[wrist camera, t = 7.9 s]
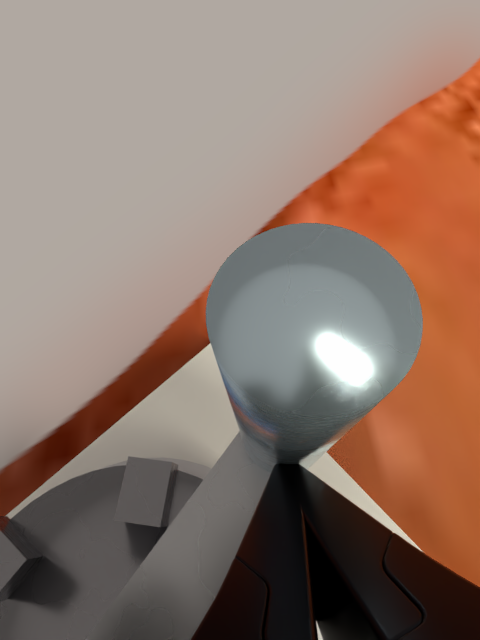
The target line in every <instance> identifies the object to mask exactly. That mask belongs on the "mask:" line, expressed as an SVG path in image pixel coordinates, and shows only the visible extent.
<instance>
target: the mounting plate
mask: <svg viewBox="0 0 480 640" xmlns="http://www.w3.org/2000/svg"><path fill="white" fill-rule="evenodd" d="M238 432H239V428H238V425H237V422H236V419H235V416H234V413H233V410H232V407H231V404H230V401H229V397H228V394H227V391H226V388H225V385H224V382H223V379H222V376H221V373H220V370H219V367H218V364H217V361H216V358H215V355H214V352H213V349H212V346H211V343H210V344H209V345H208V346H206V347H205V348H204V349H203V350H202V351H201V352H199V353H198V354H197V355H196V356H195V357H193V358H192V359H191V360H190V361H189V362H187V363H186V364H185V365H184V366H183V367H182V368H180V369H179V370H178V371H177V372H176V373H174V374H173V375H172V376H171V377H170V378H168V379H167V380H166V381H165V382H164V383H163V384H161V385H160V386H159V387H158V388H157V389H155V390H154V391H153V392H152V393H151V394H149V395H148V396H147V397H146V398H145V399H144V400H142V401H141V402H140V403H139V404H138V405H136V406H135V407H134V408H133V409H132V410H130V411H129V412H128V413H127V414H126V415H125V416H123V417H122V418H121V419H120V420H119V421H117V422H116V423H115V424H114V425H113V426H112V427H110V428H109V429H108V430H107V431H106V432H104V433H103V434H102V435H101V436H100V437H98V438H97V439H96V440H95V441H94V442H93V443H91V444H90V445H89V446H88V447H87V448H85V449H84V450H83V451H82V452H81V453H79V454H78V455H77V456H76V457H75V458H74V459H72V460H71V461H70V462H69V463H68V464H66V465H65V466H64V467H63V468H62V469H60V470H59V471H58V472H57V473H56V474H55V475H53V476H52V477H51V478H50V479H49V480H47V481H46V482H45V483H44V484H43V485H41V486H40V487H39V488H38V489H37V490H36V491H34V492H33V493H32V494H31V495H30V496H28V497H27V498H26V499H25V500H24V501H22V502H21V503H20V504H19V505H18V506H17V507H15V508H14V509H13V510H12V511H11V512H9V513H8V514H7V515H6V516H8V518H9V519H11V518H12V517H14V516H15V515H16V514H17V513H18V512H20V511H21V510H22V509H23V508H24V507H26V506H27V505H28V504H29V503H30V502H32V501H33V500H35V499H36V498H38V497H39V496H41V495H42V494H44V493H46V492H47V491H49V490H50V489H52V488H54V487H56V486H58V485H60V484H62V483H64V482H66V481H68V480H70V479H72V478H74V477H77V476H80V475H83V474H85V473H88V472H91V471H94V470H99V469H104V468H108V467H113V466H122V465H126V464H127V460H128V456H130V457H138V458H145V459H153V460H161V461H168V462H173V463H175V464H177V465H178V470H180V471H182V472H185V473H188V474H191V475H193V476H196V477H199V478H201V479H203V480H204V478H205V477H206V476H207V474H208V473H209V472H210V470H211V469H212V468H213V466H214V465H215V464H216V462H217V461H218V459H219V458H220V457H221V455H222V454H223V453H224V451H225V450H226V449H227V447H228V446H229V445H230V443H231V442H232V440H233V439H234V438H235V436H236V435H237V434H238ZM307 470H308V471H310V472H311V473H313V474H314V475H315V476H317V477H318V478H319V479H321V480H322V481H324V482H325V483H326V484H328V485H329V486H331V487H332V488H333V489H335V490H336V491H337V492H339V493H340V494H342V495H343V496H344V497H346V498H347V499H348V500H350V501H351V502H353V503H354V504H355V505H357V506H358V507H359V508H361V509H362V510H364V511H365V512H366V513H368V514H369V515H370V516H372V517H373V518H375V519H376V520H377V521H379V522H380V523H381V524H383V525H384V526H386V527H387V528H388V529H390V530H391V531H392V532H393V533H396V534H398V535H399V536H400V537H402V538H403V539H405V540H406V541H407V542H409V543H410V544H412V545H413V546H414V547H416V548H417V549H419V550H420V551H422V550H421V549H420V548H419V547H418V546H417V545H416V544H415V543H414V542H413V541H412V540H411V539H410V538H409V537H408V536H407V535H406V534H405V533H404V532H403V531H402V530H401V529H400V528H399V527H398V526H397V525H396V524H395V523H394V521H393V520H392V519H391V518H390V517H389V516H388V515H387V514H386V513H385V512H384V511H383V510H382V509H381V508H380V507H379V506H378V505H377V504H376V503H375V502H374V501H373V500H372V499H371V498H370V497H369V496H368V495H367V494H366V493H365V491H364V490H363V489H362V488H361V487H360V486H359V485H358V484H357V483H356V482H355V481H354V480H353V479H352V478H351V477H350V476H349V475H348V474H347V473H346V472H345V471H344V470H343V469H342V468H341V467H340V466H339V465H338V464H337V463H336V461H335V460H334V459H333V458H332V457H331V456H330V455H329V454H328V453H327V452H326V453H325V454H324V455H322V456H321V457H320V458H319V459H318V460H317V461H316V462H315V463H314V464H313V465H312V466H311V467H309V468H308V469H307ZM316 623H317V621H316ZM317 633H318V640H323V638H322V635H321V632H320V629H319V627H318V624H317Z"/></svg>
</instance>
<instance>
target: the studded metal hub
mask: <svg viewBox="0 0 480 640" xmlns="http://www.w3.org/2000/svg"><path fill="white" fill-rule="evenodd" d="M422 325H423V318H422V311H421V305H420V302H419V298H418V295H417V292H416V290H415V288H414V285H413V283H412V281H411V280H410V278H409V276H408V275H407V273H406V272H405V270H404V269H403V268H402V266H401V265H400V264H399V263H398V261H397V260H396V259H395V258H394V257H393V256H391V255H390V254H389V253H388V252H387V251H386V250H385V249H383V248H382V247H381V246H379V245H378V244H377V243H375V242H373V241H372V240H370V239H368V238H367V237H365V236H362V235H360V234H358V233H356V232H354V231H351V230H348V229H345V228H342V227H337V226H333V225H327V224H318V223H301V224H291V225H286V226H281V227H277V228H274V229H271V230H268V231H266V232H263V233H261V234H259V235H257V236H255V237H253V238H251V239H250V240H248V241H246V242H245V243H244V244H242V245H241V246H240V247H239V248H237V249H236V250H235V251H234V252H233V253H232V254H231V255H230V256H229V257H228V258H227V259H226V261H225V262H224V263H223V265H222V266H221V267H220V269H219V271H218V272H217V274H216V276H215V278H214V280H213V282H212V285H211V287H210V291H209V295H208V298H207V306H206V326H207V331H208V336H209V340H210V343H211V346H212V349H213V352H214V355H215V358H216V361H217V364H218V367H219V370H220V373H221V376H222V379H223V382H224V385H225V388H226V391H227V394H228V397H229V401H230V404H231V407H232V410H233V413H234V416H235V419H236V422H237V425H238V428H239V432H238V434H237V435H236V436H235V438H234V439H233V440H232V442H231V443H230V445H229V446H228V447H227V449H226V450H225V451H224V453H223V454H222V455H221V457H220V458H219V459H218V461H217V462H216V464H215V465H214V466H213V468H212V469H211V470H210V472H209V473H208V474H207V476H206V477H205V478H204V480H203V479H201V478H199V477H196V476H193V475H191V474H188V473H185V472H182V471H180V470H178V465H177V464H175V463H173V462H168V461H161V460H153V459H145V458H138V457H130V456H128V460H127V464H126V465H122V466H113V467H108V468H104V469H99V470H94V471H91V472H88V473H85V474H83V475H80V476H77V477H74V478H72V479H70V480H68V481H66V482H64V483H62V484H60V485H58V486H56V487H54V488H52V489H50V490H49V491H47V492H46V493H44V494H42V495H41V496H39V497H38V498H36V499H35V500H33V501H32V502H30V503H29V504H28V505H27V506H26V507H24V508H23V509H22V510H21V511H20V512H18V513H17V514H16V515H15V516H14V517H12V518H11V519H9V518H8V516H0V640H191V638H192V636H193V635H194V633H195V631H196V630H197V628H198V626H199V625H200V623H201V621H202V620H203V618H204V616H205V615H206V613H207V611H208V609H209V608H210V606H211V604H212V602H213V601H214V599H215V597H216V595H217V593H218V591H219V589H220V587H221V585H222V583H223V581H224V579H225V577H226V575H227V572H228V570H229V568H230V565H231V563H232V561H233V559H234V558H235V555H236V553H237V550H238V548H239V546H240V543H241V541H242V539H243V536H244V534H245V532H246V529H247V527H248V525H249V523H250V520H251V518H252V516H253V513H254V511H255V509H256V506H257V504H258V502H259V499H260V497H261V495H262V492H263V490H264V488H265V485H266V483H267V481H268V479H269V476H270V474H271V472H272V469H273V467H274V465H275V464H278V463H281V464H300V465H302V466H303V467H304V468H306V469H308V468H309V467H311V466H312V465H313V464H314V463H315V462H316V461H317V460H318V459H319V458H320V457H321V456H322V455H324V454H325V453H326V452H327V451H328V450H329V449H330V448H331V447H332V446H333V445H334V444H335V443H336V442H337V441H339V440H340V439H341V438H342V437H343V436H344V435H345V434H346V433H347V432H348V431H349V430H350V429H351V428H352V427H353V426H355V425H356V424H357V423H358V422H359V421H360V420H361V419H362V418H363V417H364V416H365V415H366V414H367V413H368V412H369V411H371V410H372V409H373V408H374V407H375V406H376V405H377V404H378V403H379V402H380V401H381V400H382V399H383V398H384V397H385V396H387V395H388V394H389V393H390V392H391V391H392V390H393V389H394V388H395V387H396V386H397V385H398V384H399V383H400V382H401V381H402V380H403V378H404V377H405V375H406V374H407V373H408V371H409V370H410V368H411V366H412V364H413V362H414V360H415V359H416V356H417V353H418V350H419V347H420V343H421V337H422Z"/></svg>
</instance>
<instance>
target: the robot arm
mask: <svg viewBox="0 0 480 640" xmlns="http://www.w3.org/2000/svg"><path fill="white" fill-rule="evenodd" d="M316 621H317V623H316ZM317 624H318V627H319V629H320V632H321V635H322V638H323V640H480V587H478V586H477V585H475V584H473V583H471V582H470V581H468V580H466V579H465V578H463V577H461V576H460V575H458V574H456V573H455V572H453V571H451V570H450V569H448V568H447V567H445V566H443V565H442V564H440V563H439V562H437V561H435V560H434V559H432V558H431V557H429V556H428V555H426V554H425V553H423V552H422V551H420V550H419V549H417V548H416V547H414V546H413V545H412V544H410V543H409V542H407V541H406V540H405V539H403V538H402V537H400V536H399V535H398V534H396V533H393V532H392V531H391V530H390V529H388V528H387V527H386V526H384V525H383V524H381V523H380V522H379V521H377V520H376V519H375V518H373V517H372V516H370V515H369V514H368V513H366V512H365V511H364V510H362V509H361V508H359V507H358V506H357V505H355V504H354V503H353V502H351V501H350V500H348V499H347V498H346V497H344V496H343V495H342V494H340V493H339V492H337V491H336V490H335V489H333V488H332V487H331V486H329V485H328V484H326V483H325V482H324V481H322V480H321V479H319V478H318V477H317V476H315V475H314V474H313V473H311V472H310V471H308V470H307V469H306V468H304V467H303V466H302V465H300V464H281V463H278V464H275V465H274V467H273V469H272V472H271V474H270V476H269V479H268V481H267V483H266V485H265V488H264V490H263V492H262V495H261V497H260V499H259V502H258V504H257V506H256V509H255V511H254V513H253V516H252V518H251V520H250V523H249V525H248V527H247V529H246V532H245V534H244V536H243V539H242V541H241V543H240V546H239V548H238V550H237V553H236V555H235V558H234V559H233V561H232V563H231V565H230V568H229V570H228V572H227V575H226V577H225V579H224V581H223V583H222V585H221V587H220V589H219V591H218V593H217V595H216V597H215V599H214V601H213V602H212V604H211V606H210V608H209V609H208V611H207V613H206V615H205V616H204V618H203V620H202V621H201V623H200V625H199V626H198V628H197V630H196V631H195V633H194V635H193V636H192V638H191V640H318V633H317Z"/></svg>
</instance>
